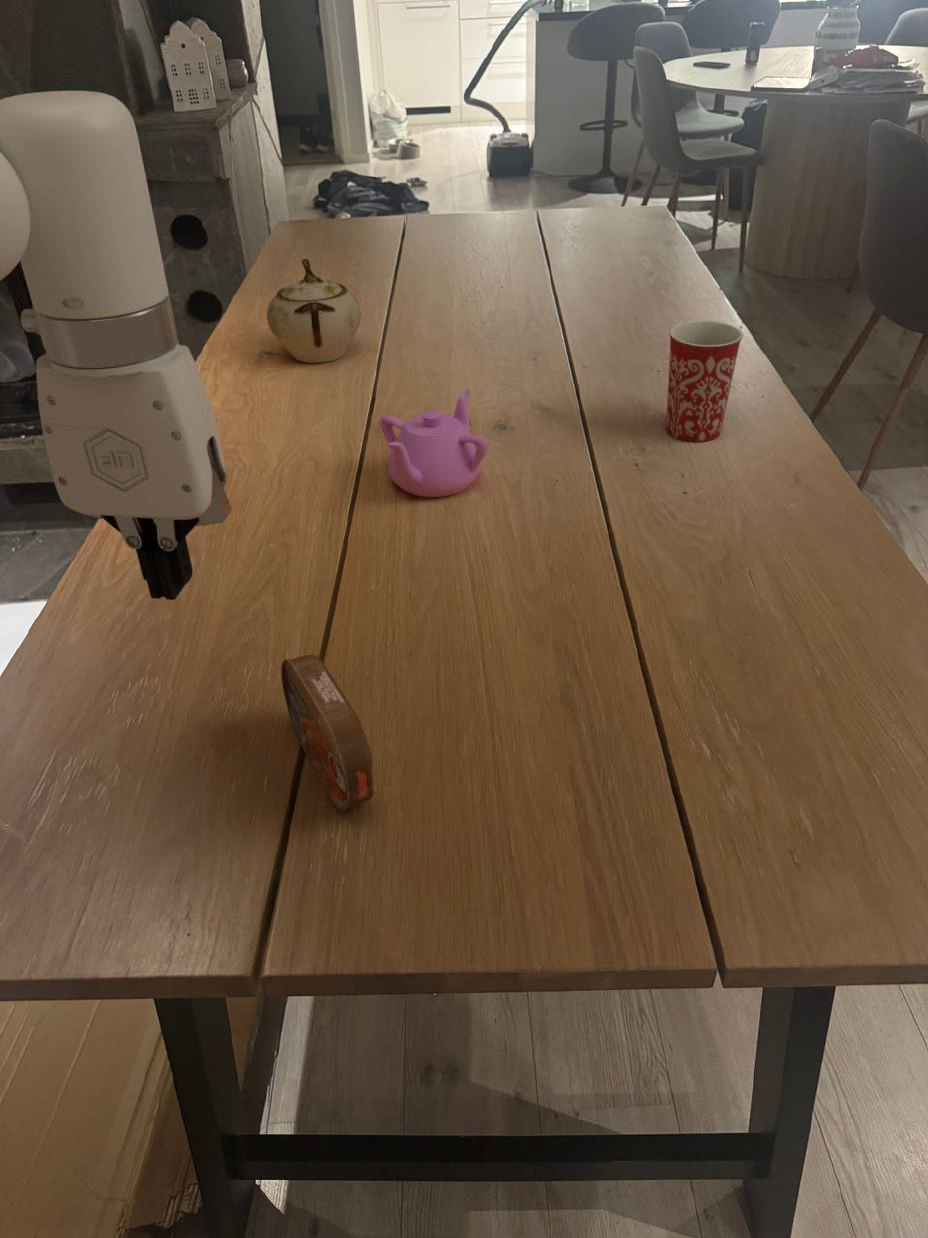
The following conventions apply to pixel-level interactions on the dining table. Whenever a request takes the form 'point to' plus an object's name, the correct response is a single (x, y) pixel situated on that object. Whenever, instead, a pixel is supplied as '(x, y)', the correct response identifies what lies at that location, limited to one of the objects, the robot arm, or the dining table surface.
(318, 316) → the sugar bowl
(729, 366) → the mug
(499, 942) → the dining table surface
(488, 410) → the dining table surface
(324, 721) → the tin
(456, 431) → the teapot
